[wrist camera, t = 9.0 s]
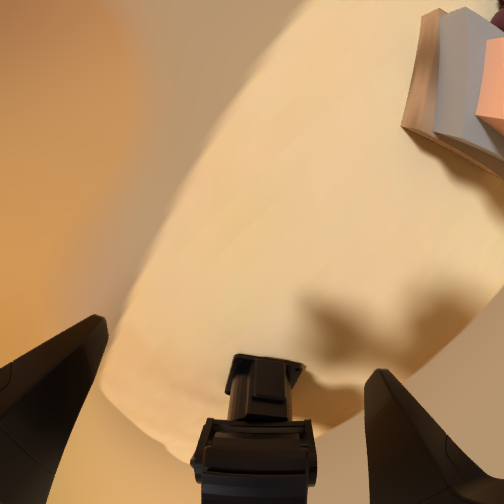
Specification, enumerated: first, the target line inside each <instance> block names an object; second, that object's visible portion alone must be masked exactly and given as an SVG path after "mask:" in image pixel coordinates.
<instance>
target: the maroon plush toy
mask: <svg viewBox="0 0 504 504" xmlns="http://www.w3.org/2000/svg"><path fill="white" fill-rule="evenodd" d="M502 1H503V3H504V0H502ZM490 23H492V24H493V25H494V26H496V27H497V28H499V29H500V30H501V31H503V32H504V7H503V8H502V9H501V10H499V11H498V12H497V13H496V14H495V16H494V17H493V18H492V20H491V22H490Z"/></svg>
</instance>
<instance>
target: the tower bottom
mask: <svg viewBox="0 0 504 504" xmlns="http://www.w3.org/2000/svg"><path fill="white" fill-rule="evenodd" d="M445 14H448V13H447V12H445V11H443V10H442V9H440V8H439V9H436V10H434V11H432V12H430V13H428V14H426V15H424V16H422V19H421V27H420V34H419V41H418V47H417V53H416V59H415V64H414V70H413V75H412V80H411V84H410V89H409V93H408V98H407V102H406V106H405V110H404V114H403V118H402V122H401V127H404V128H406V129H408V130H410V131H412V132H415V133H417V134H419V135H421V136H423V137H425V138H427V139H429V140H431V141H433V142H435V143H437V144H439V145H441V146H443V147H445V148H447V149H449V150H451V151H453V152H454V153H456V154H458V155H460V156H462V157H463V158H465V159H467V160H468V161H470V162H472V163H474V164H475V165H477V166H478V167H480V168H482V169H483V170H485V171H487V172H488V173H491V174H493V175H495V176H497V177H499V178H502V179H504V161H502V160H500V159H497V158H495V157H493V156H491V155H489V154H487V153H485V152H483V151H480V150H478V149H476V148H474V147H471V146H469V145H467V144H464V143H462V142H459V141H457V140H454V139H452V138H449V137H447V136H444V135H441V134H439V133H436V132H433V126H434V118H435V110H436V102H437V91H438V79H439V60H440V19H439V17H441V16H443V15H445Z"/></svg>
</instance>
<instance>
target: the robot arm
mask: <svg viewBox="0 0 504 504" xmlns="http://www.w3.org/2000/svg"><path fill="white" fill-rule="evenodd" d="M108 338H109V334H108V328H107V323H106V319H105V318H104V317H102V316H99V315H96V314H94V315H91V316H89V317H87V318H86V319H84V320H83V321H80V322H79V323H77V324H75V325H73V326H72V327H70V328H68V329H67V330H65V331H63V332H61V333H60V334H58V335H56V336H54V337H53V338H51V339H49V340H47V341H46V342H44V343H42V344H41V345H39V346H37V347H35V348H34V349H32V350H31V351H29V352H27V353H25V354H24V355H22V356H20V357H19V358H17V359H15V360H14V361H13V362H10V363H8V364H7V365H5V366H4V367H2V368H0V504H46V502H47V498H48V495H49V492H50V489H51V486H52V483H53V480H54V477H55V476H54V475H55V474H56V471H57V468H58V465H59V463H60V460H61V457H62V454H63V452H64V449H65V446H66V444H67V441H68V439H69V436H70V434H71V431H72V429H73V427H74V424H75V422H76V420H77V417H78V415H79V413H80V410H81V408H82V406H83V404H84V401H85V399H86V397H87V395H88V392H89V390H90V388H91V386H92V384H93V381H94V379H95V376H96V374H97V371H98V368H99V365H100V362H101V359H102V356H103V353H104V351H105V348H106V345H107V342H108ZM301 372H302V365H301V364H299V363H291V362H284V361H277V360H271V359H264V358H258V357H252V356H247V355H241V354H236V355H234V357H233V361H232V365H231V368H230V372H229V376H228V380H227V384H226V388H225V394H227V395H230V402H229V410H228V418H227V420H218V419H214V418H207V421H206V424H205V425H204V426H203V429H202V432H201V435H200V438H199V441H198V444H197V448H196V451H195V453H194V454H193V456H192V458H191V460H190V465H191V466H192V467H193V469H194V472H195V478H196V482H197V483H199V484H201V485H202V486H201V488H202V489H201V498H202V499H201V504H307V492H308V487H314V486H315V483H316V478H317V455H316V448H315V442H314V436H313V430H312V424H311V419H309V420H304V421H292V398H291V390H292V388H293V386H294V385H295V383H296V381H297V379H298V377H299V375H300V374H301ZM364 404H365V434H366V445H367V456H368V471H369V491H370V504H504V479H498V478H494V477H491V476H489V475H487V474H486V473H485V472H484V471H483V470H482V469H481V468H480V467H478V465H476V464H475V463H474V462H473V461H472V460H471V459H470V458H469V457H468V456H467V455H466V454H465V453H464V452H463V451H462V450H461V449H460V448H459V447H458V446H457V445H456V444H455V443H454V442H453V441H452V439H451V438H450V437H449V436H448V435H446V433H445V432H444V430H443V429H442V428H441V427H440V426H439V425H438V424H437V423H436V422H435V420H434V419H433V418H432V417H431V416H430V415H429V414H428V413H427V411H426V410H425V409H424V408H423V407H422V406H421V405H420V404H419V403H418V402H417V400H416V399H415V398H414V397H413V396H412V395H411V394H410V393H409V392H408V391H407V389H406V388H405V387H404V386H403V385H402V384H401V383H400V382H399V381H398V380H397V379H396V377H395V376H394V375H393V374H392V373H391V372H390V371H389V370H388V369H382V368H378V369H376V370H375V371H374V372H373V374H372V375H371V376H370V378H369V379H368V380H367V382H366V383H365V387H364Z"/></svg>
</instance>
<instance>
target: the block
mask: <svg viewBox="0 0 504 504" xmlns="http://www.w3.org/2000/svg"><path fill="white" fill-rule="evenodd" d="M475 115H476V116H477V117H479V118H480V119H482V120H483V121H484V122H486V123H487V124H488V125H490V126H491V127H492V128H493V129H495V130H496V131H497V132H498V133H500V134H501V135H502V136H503V137H504V37H501V38H495V39H490V40H487V41H486V52H485V62H484V70H483V77H482V83H481V89H480V95H479V100H478V105H477V110H476V114H475Z"/></svg>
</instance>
